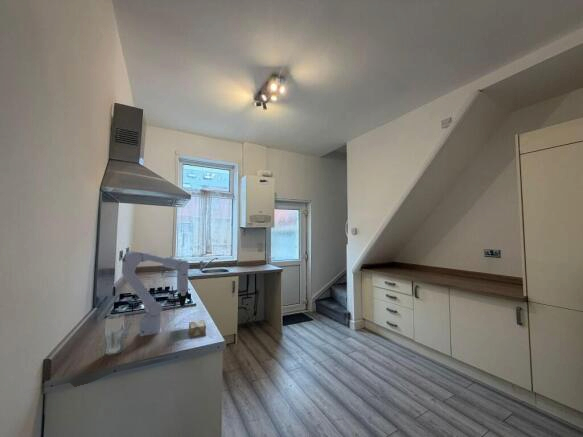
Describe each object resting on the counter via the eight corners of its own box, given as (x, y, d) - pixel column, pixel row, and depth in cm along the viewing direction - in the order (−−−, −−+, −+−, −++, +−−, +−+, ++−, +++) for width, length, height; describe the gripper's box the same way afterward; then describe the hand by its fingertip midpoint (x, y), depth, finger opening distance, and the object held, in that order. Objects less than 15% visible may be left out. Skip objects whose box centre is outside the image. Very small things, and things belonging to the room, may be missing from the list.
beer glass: (108, 357, 102) (109, 320, 102) (101, 352, 105) (102, 317, 106) (127, 350, 107) (128, 315, 108) (119, 346, 111) (120, 312, 112)
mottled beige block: (190, 328, 121) (205, 325, 124) (189, 322, 129) (203, 319, 132) (190, 336, 120) (205, 333, 124) (189, 330, 128) (203, 327, 132)
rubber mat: (170, 343, 114) (170, 342, 114) (169, 332, 126) (169, 331, 126) (206, 336, 121) (206, 335, 122) (202, 326, 134) (202, 326, 134)
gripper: (191, 283, 134) (191, 308, 133) (188, 278, 147) (188, 301, 146) (177, 284, 131) (177, 310, 130) (175, 280, 144) (175, 303, 143)
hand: (182, 305), depth 138 cm, fingers closed
